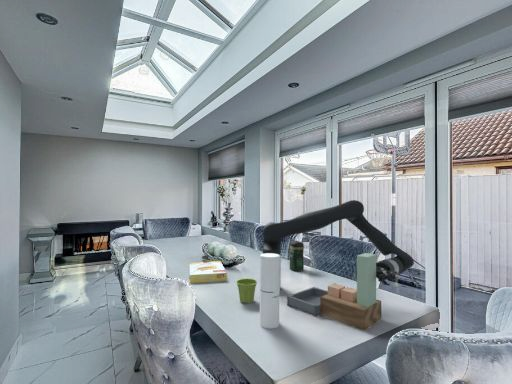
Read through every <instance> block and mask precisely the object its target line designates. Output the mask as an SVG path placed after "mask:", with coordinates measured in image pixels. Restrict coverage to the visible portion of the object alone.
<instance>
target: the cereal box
mask: <svg viewBox="0 0 512 384" xmlns="http://www.w3.org/2000/svg"><path fill="white" fill-rule="evenodd" d="M188 268H189V270H188V271H189V284H200V283H216V282H227V280H228V277H227V271H226V268H225V266H223V265H222V263H221V261H211V262H203V261H199V262H190V263H189V264H188Z"/></svg>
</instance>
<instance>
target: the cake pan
mask: <svg viewBox="0 0 512 384" xmlns="http://www.w3.org/2000/svg"><path fill="white" fill-rule="evenodd" d="M200 259H201V262H211V261H212V260H209V259H208V256H207V254H204V255H201V256H200ZM221 263H222V261H221ZM222 265H223V264H222Z"/></svg>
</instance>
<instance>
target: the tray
mask: <svg viewBox="0 0 512 384" xmlns="http://www.w3.org/2000/svg"><path fill="white" fill-rule="evenodd" d="M327 294H328V290H327V289H326V290H325V289H323V288H318V287H315V286H312V287H310V288H309V287H308V288H306V289H304V290H301V291H298V292H295V293H293V294H290V295H287V297H286V299H287V300H286V301H287V303H286V306H288V307H290V308H292V309H295V310H297V311H300V312H303V313H306V314H309V315H311V316H314V317H319V316H321V315H320V297H322V296H324V295H327Z"/></svg>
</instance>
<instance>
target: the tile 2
mask: <svg viewBox="0 0 512 384" xmlns="http://www.w3.org/2000/svg"><path fill="white" fill-rule="evenodd" d="M341 299H344V300H347V301H350V302H355V301H357V288H353V287H349V286H347V287H345V288H344V289H342V290H341Z"/></svg>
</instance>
